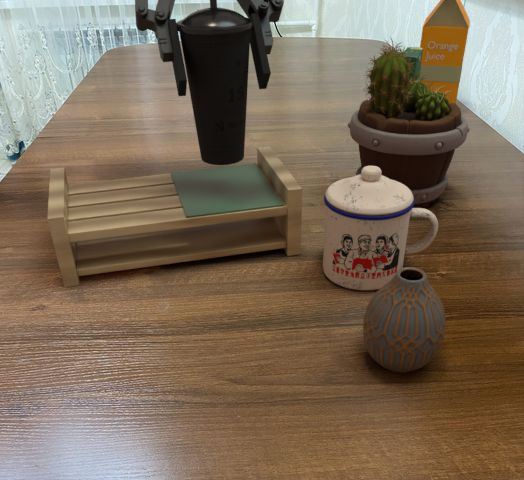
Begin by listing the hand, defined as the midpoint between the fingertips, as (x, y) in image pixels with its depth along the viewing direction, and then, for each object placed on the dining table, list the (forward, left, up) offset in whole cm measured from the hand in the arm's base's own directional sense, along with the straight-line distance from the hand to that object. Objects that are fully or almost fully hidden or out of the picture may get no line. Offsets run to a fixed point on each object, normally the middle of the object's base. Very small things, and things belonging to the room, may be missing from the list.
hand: (224, 84), depth 61 cm
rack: (-3, -6, -18) cm, 19 cm away
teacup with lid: (+10, +14, -18) cm, 25 cm away
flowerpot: (-8, +25, -18) cm, 32 cm away
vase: (+25, +10, -18) cm, 32 cm away
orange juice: (-43, +48, -18) cm, 67 cm away
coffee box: (-31, +36, -18) cm, 51 cm away
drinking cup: (-3, 0, -9) cm, 9 cm away
